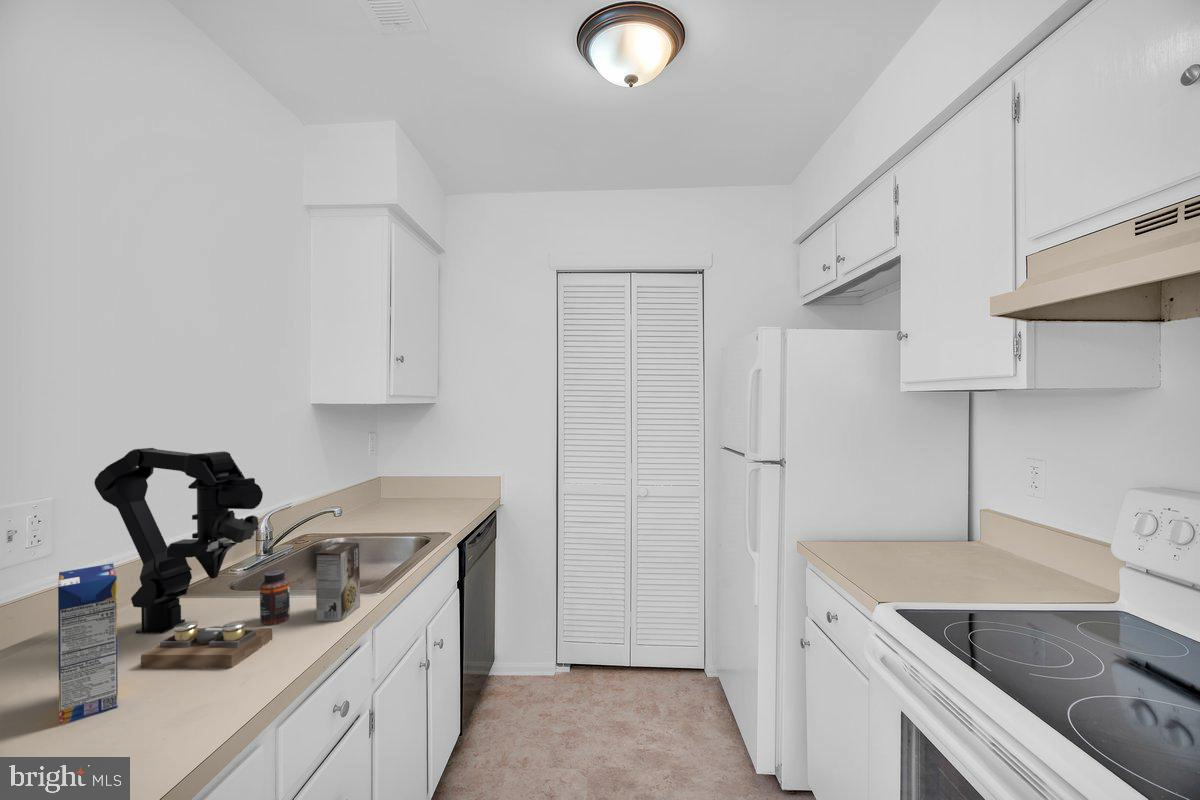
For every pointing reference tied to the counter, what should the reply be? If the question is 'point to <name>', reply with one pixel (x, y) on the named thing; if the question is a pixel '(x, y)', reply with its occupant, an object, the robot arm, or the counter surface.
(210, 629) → the dial
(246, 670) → the counter surface
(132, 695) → the counter surface
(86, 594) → the beverage box
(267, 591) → the supplement bottle
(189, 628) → the knob left
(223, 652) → the mount
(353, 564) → the coffee box
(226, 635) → the knob right
